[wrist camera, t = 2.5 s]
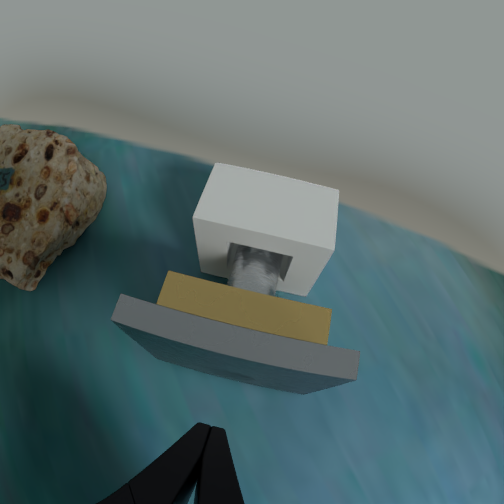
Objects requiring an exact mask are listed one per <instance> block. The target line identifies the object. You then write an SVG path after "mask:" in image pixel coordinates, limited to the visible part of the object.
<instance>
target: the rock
mask: <svg viewBox="0 0 504 504" xmlns="http://www.w3.org/2000/svg"><path fill="white" fill-rule="evenodd" d="M106 189H107V187H106V178H105V175H104V174H103V173H102V172H100V171H99V169H98V167H97V166H95V165H94V164H93V163H92V162H90V161H89V160H87V159H86V158H84V157H83V156H82V155H81V153H80V152H79V151H78V149H77V147H76V145H75V144H74V143H73V142H72V141H71V140H70V139H68V138H67V137H66V136H63V135H59V134H57V133H56V132H54V131H51V130H29V129H26V130H22V129H21V127H20V125H13V124H10V125H5V124H4V125H2V126H1V127H0V279H5V280H6V281H8V282H9V283H11V284H12V285H14V286H16V287H18V288H19V289H22V290H27V291H32V290H35V289H36V287H37V285H38V282H39V281H40V280H41V278H42V277H43V276H44V275H45V272H46V270H47V267H48V266H49V265H50V264H52V263H53V261H54V260H55V258H56V257H57V255H61V253H62V251H63V250H64V249H66V248H68V247H70V246H73V245H74V244H75V242H76V240H77V238H78V237H80V236H81V235H82V233H83V232H84V230H85V229H86V228H87V227H88V226H89V225H90V224H91V223H92V222H93V221H94V220H95V219H96V217H97V215H98V213H99V212H100V210H101V209H102V204H103V202H104V199H105V196H106Z"/></svg>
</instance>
